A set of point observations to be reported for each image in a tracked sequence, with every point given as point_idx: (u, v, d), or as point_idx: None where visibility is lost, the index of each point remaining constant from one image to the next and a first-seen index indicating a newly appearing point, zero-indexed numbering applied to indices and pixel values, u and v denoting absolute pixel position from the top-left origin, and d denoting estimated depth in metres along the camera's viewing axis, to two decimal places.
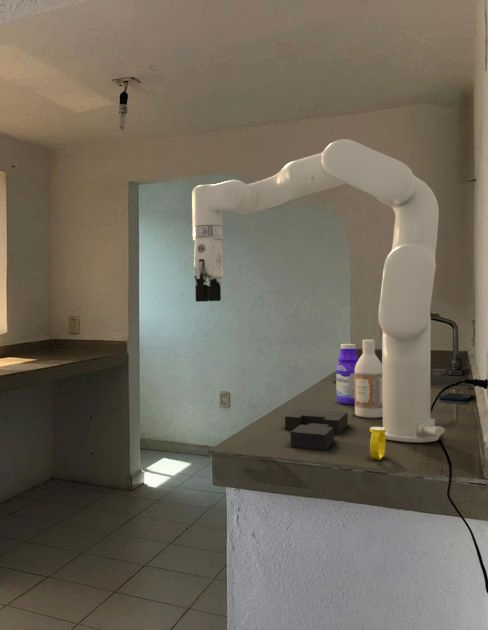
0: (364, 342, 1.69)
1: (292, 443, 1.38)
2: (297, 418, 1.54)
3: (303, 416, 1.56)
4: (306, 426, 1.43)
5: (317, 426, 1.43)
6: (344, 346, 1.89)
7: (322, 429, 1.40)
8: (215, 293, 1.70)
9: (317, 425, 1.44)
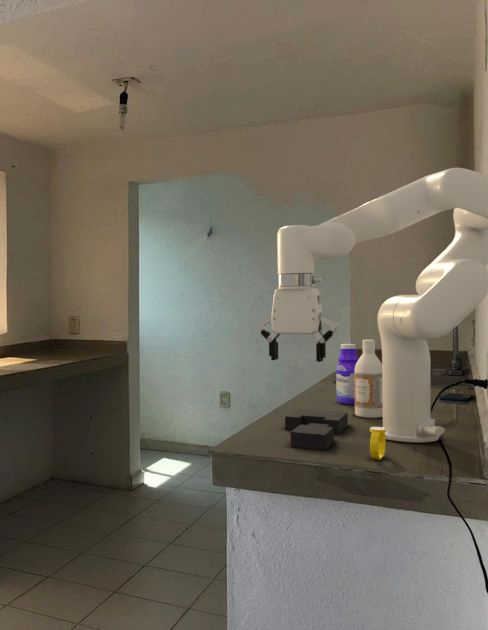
0: (364, 342, 1.69)
1: (292, 443, 1.38)
2: (297, 418, 1.54)
3: (303, 416, 1.56)
4: (306, 426, 1.43)
5: (317, 426, 1.43)
6: (344, 346, 1.89)
7: (322, 429, 1.40)
8: (276, 350, 1.46)
9: (317, 425, 1.44)
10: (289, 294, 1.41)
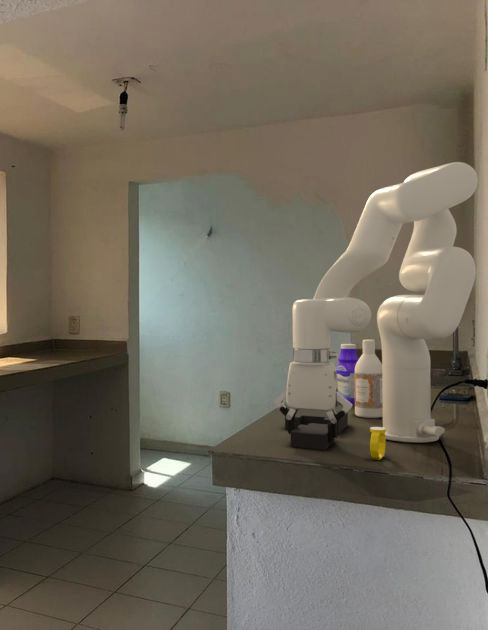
0: (364, 342, 1.69)
1: (292, 443, 1.38)
2: (297, 418, 1.54)
3: (303, 416, 1.56)
4: (306, 426, 1.43)
5: (317, 426, 1.43)
6: (344, 346, 1.89)
7: (322, 429, 1.40)
8: None
9: (317, 425, 1.44)
10: (305, 369, 1.38)
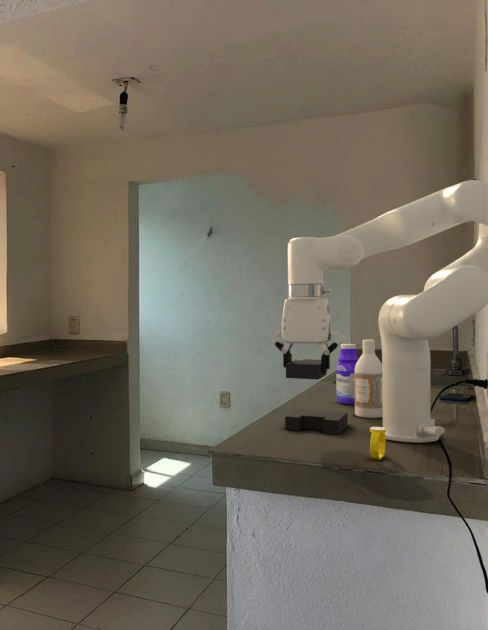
0: (364, 342, 1.69)
1: (287, 374, 1.44)
2: (297, 418, 1.54)
3: (303, 416, 1.56)
4: None
5: (310, 360, 1.49)
6: (344, 346, 1.89)
7: (315, 362, 1.46)
8: None
9: (310, 360, 1.51)
10: (299, 304, 1.44)
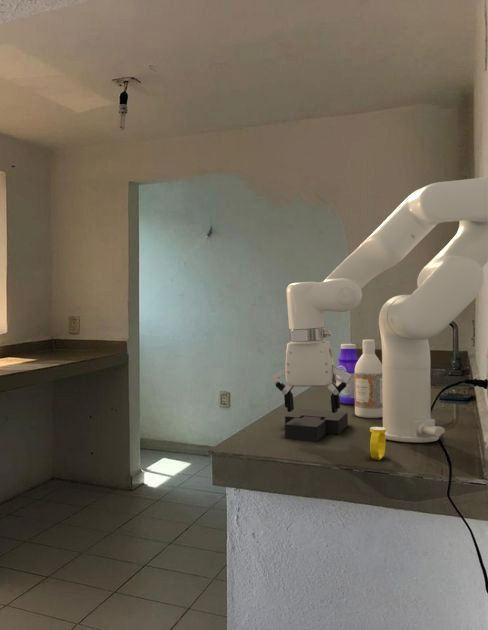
0: (364, 342, 1.69)
1: (286, 435, 1.46)
2: None
3: (303, 416, 1.56)
4: (300, 419, 1.51)
5: (310, 419, 1.51)
6: (344, 346, 1.89)
7: (315, 422, 1.48)
8: (292, 402, 1.51)
9: (310, 418, 1.52)
10: (301, 348, 1.46)
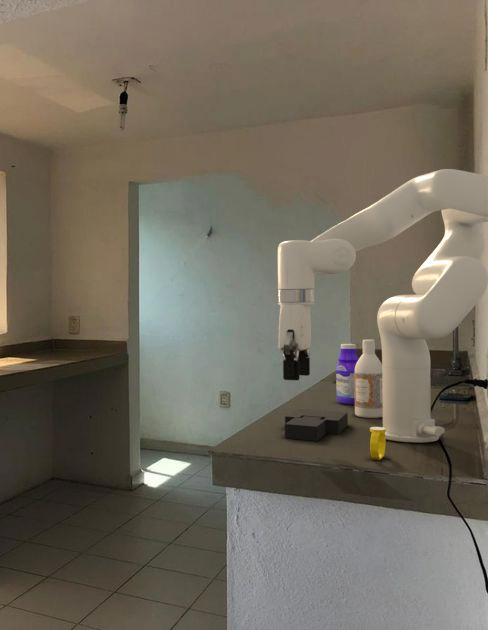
0: (364, 342, 1.69)
1: (286, 434, 1.46)
2: None
3: (303, 416, 1.56)
4: (300, 419, 1.51)
5: (310, 419, 1.51)
6: (344, 346, 1.89)
7: (315, 421, 1.48)
8: None
9: (310, 418, 1.52)
10: (307, 309, 1.39)
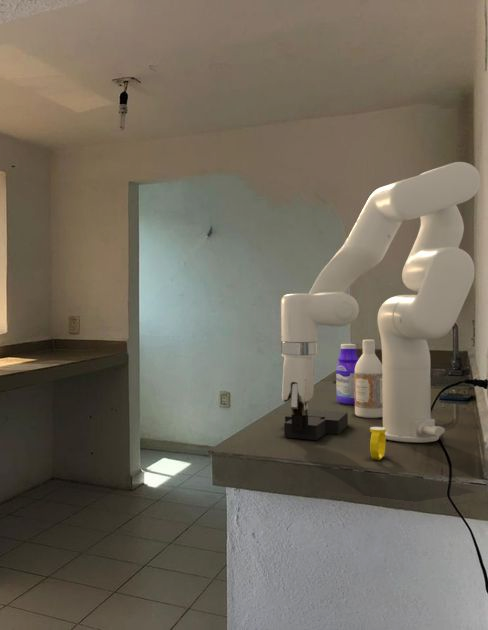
0: (364, 342, 1.69)
1: (286, 433, 1.47)
2: None
3: None
4: None
5: (310, 418, 1.51)
6: (344, 346, 1.89)
7: (314, 421, 1.48)
8: None
9: (310, 418, 1.53)
10: (310, 362, 1.41)
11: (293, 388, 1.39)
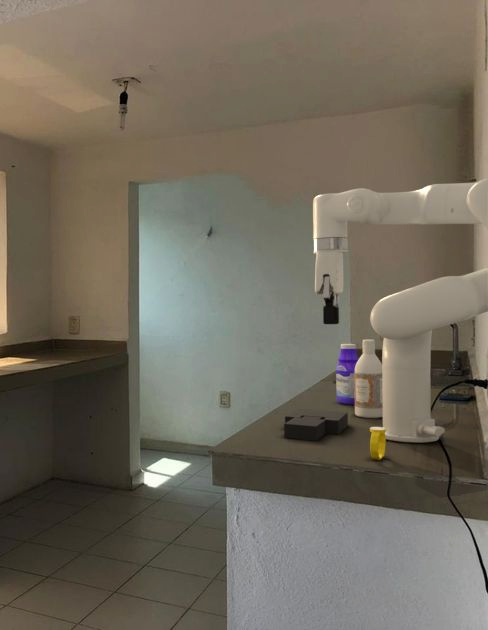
0: (364, 342, 1.69)
1: (285, 434, 1.47)
2: None
3: (303, 416, 1.56)
4: (300, 419, 1.52)
5: (310, 419, 1.51)
6: (344, 346, 1.89)
7: (314, 421, 1.48)
8: None
9: (310, 418, 1.52)
10: (341, 256, 1.52)
11: (325, 280, 1.51)
